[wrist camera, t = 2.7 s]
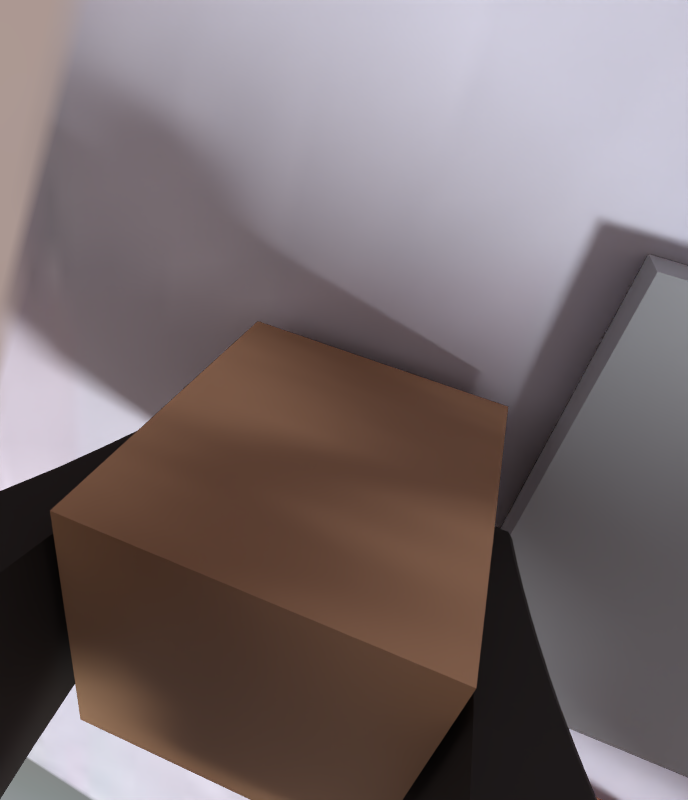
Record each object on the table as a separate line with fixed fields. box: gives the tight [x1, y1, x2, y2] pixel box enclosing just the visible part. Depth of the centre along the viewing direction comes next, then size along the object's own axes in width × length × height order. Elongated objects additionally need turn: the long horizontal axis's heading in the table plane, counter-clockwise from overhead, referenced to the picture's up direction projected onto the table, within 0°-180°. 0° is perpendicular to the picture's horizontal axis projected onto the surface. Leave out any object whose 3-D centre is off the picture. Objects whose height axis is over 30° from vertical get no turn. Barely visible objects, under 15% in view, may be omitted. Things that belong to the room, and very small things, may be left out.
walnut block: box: [50, 321, 508, 800], centre depth 9 cm, size 4×4×5 cm
